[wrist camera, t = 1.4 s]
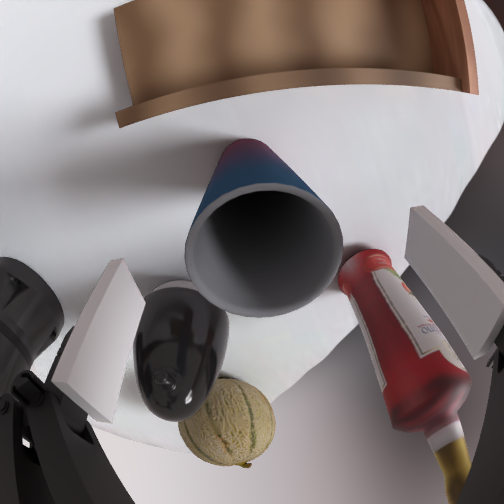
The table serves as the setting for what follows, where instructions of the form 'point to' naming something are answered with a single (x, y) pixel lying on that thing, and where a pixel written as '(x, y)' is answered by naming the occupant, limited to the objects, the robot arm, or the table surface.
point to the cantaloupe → (230, 425)
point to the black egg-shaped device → (179, 350)
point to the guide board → (287, 48)
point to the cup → (261, 236)
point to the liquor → (410, 362)
